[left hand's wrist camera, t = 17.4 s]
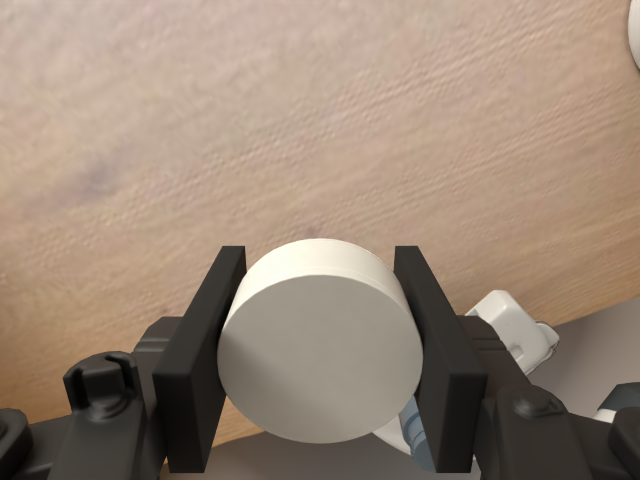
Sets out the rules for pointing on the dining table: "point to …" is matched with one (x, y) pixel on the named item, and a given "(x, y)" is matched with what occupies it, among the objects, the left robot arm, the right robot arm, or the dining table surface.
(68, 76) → the dining table surface
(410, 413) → the bottle
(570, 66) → the dining table surface
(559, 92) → the dining table surface
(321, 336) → the lid
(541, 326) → the right robot arm
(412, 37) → the dining table surface
